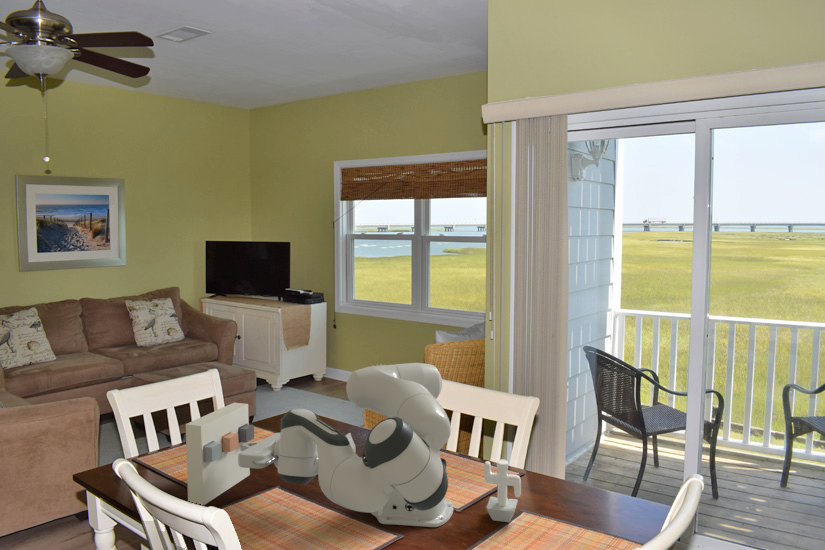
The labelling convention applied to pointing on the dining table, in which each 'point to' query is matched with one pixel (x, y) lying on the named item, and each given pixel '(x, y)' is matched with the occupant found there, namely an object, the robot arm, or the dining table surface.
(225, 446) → the terracotta button
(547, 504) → the dining table surface
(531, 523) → the dining table surface
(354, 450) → the white carton box
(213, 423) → the control panel
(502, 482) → the figurine
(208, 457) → the slate grey button
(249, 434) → the charcoal button
